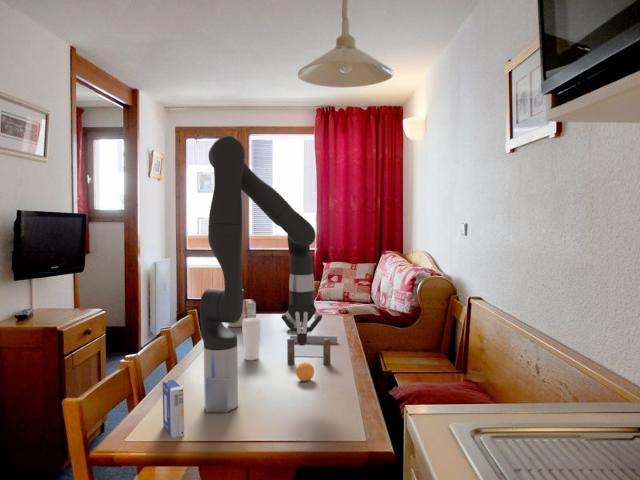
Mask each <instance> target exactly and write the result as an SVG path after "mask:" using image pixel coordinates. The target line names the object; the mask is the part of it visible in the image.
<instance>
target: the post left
mask: <svg viewBox="0 0 640 480" xmlns="http://www.w3.org/2000/svg"><path fill="white" fill-rule="evenodd" d="M286 340H287V343H286V346H287V347H286V348H287V349H286V350H287V356H286V357H287V360H286V361H287V365H295V362H296V361H295V359H296V357H295V347H296V346H295V343H294V339H293V338H290V337H289V338H287V339H286Z"/></svg>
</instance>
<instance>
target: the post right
mask: <svg viewBox="0 0 640 480" xmlns="http://www.w3.org/2000/svg"><path fill="white" fill-rule="evenodd" d="M322 344H323V345H322V346H323V357H322V362H323V364H322V365H324V366H330V365H331V343H330V339H323V343H322Z"/></svg>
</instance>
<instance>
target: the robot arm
mask: <svg viewBox="0 0 640 480" xmlns="http://www.w3.org/2000/svg"><path fill="white" fill-rule="evenodd" d="M245 156H246V152H245V148H244V146H243V144H242V143H241V141H240V140H239V139H238V138H236V137H234V136H231V135H225V136H222V137H220V138H218V139H217V140H216V141H215V142H214V143H212V145H211V147H210V148H209V150H208V161H209V164H210V165H211V167H212V168H213V174H214V175H213V177H214V183H213V184H214V186H213V194H212V197H211V203H210V209H209V215H208V231H207V234H208V236H207V237H208V238H207V241H208V244H209V247H210V248H211V251H212V253H213V255H214V257H215V259H216V260H217V261H218V262H217V263H218V264H219V266H220V268H221V270H222V275H223V282H224V288H217V287H216V288H214V287H213V288H212V287H211V288H207V289H206V290H204V291H203V293H202V295H201V296H200V301H199V318H200V321H199V322H200V335H201V339H202V341H203V378H204V379H203V380H204V381H203V385H204V387H203V388H204V390H203V391H204V392H203V393H204V409H205V412H206V413H217V414H218V413H220V414H222V413H223V414H228V413H229V412H230V411H233V410H234V409H236V408H237V407H238V406H239V385H238V383H239V379H238V378H239V377H238V376H239V375H238V374H239V371H238V369H239V368H238V364H239V363H238V362H239V361H238V360H239V359H238V336H237V334H236V333H235V332H233V331H231V330H230V329H228V328H226V326H225V325H224V323H225V324H226V323H235V322H237V321H238V320H239V319H240V317H241V315H242V311H243V294H244V291H243V277H242V276H243V275H242V241H243V202H242V201H243V200H242V191H243V192H244V194H245V195H246V196H247V197H248V198H249V199H251V201H252V202H253V203H254V204H255V205H256V206H257V207H258V208H259V209H260V210H261V211H262V212H263V213H264V214H265V215H266V216H267V217H268V218H269V219H270V220H271V221H272V222H273V223H274V224H275V225H277V226H278V227H280V228H281V229H282V230H283V231H284V232H285V233H286V234H287V247H288V252H289V260H290V261H289V280H288V282H289V283H288V284H289V285H288V286H289V290H288V291H289V307H288V309H287V311H286V312H285V313H282V314H281V320H282V321H283V322H284V323H285V325H286V324H287V325H286V327H287V326H288V327H289V328H288V329H290V331H291V332H293V333H296V335H297V342H298V343H297V344H299V346H306V344H307V343H306V342H307V335H308V333H309V332H312V331H314V329H315V328H316V326H317V325H318V324H319V323H320V322H321V320H323V319H322V318H323V314H322V313H319V312H318V311H317V308H316V305H315V288H316V287H315V276H314V257H313V256H312V254H311V252H310V249H311V248H310V245H313V243H314V242H315V239H316V230H315V229H314V227H313V226H312V224H311V223H310V222H309V221H308V220H307V219H306V218H304V217H303V216H302V215H301V214H300V213H299V212H298V211H296V210H295V209H294V208H293V207H292V206H291V205H290V203H289V202H288V201H287V200H286V199H285V198H284V197H283V196H282V195H281V194H280V193H279V192H278V191H277V190H275V189H274V188H273V187H272V186H271V185H269V184H268V183H267V182H265V181H264V180H262V179H261V177H258V176H257V175H256V174H255V173H254V172H253V171H252V169H251V168H250V167H249V166H248V165H247V163H246V162H245V158H246V157H245ZM289 314H290V315H291V317H292V318H293V319H294V321H296V326H297V327H295V325H294V324H293V323H292V321H291V320H290V316H289ZM312 318H314V320H313V321H312V323H311V324H310V325H309V324H308V323H309V322H310V321H311V319H312ZM301 322H303V327H301ZM308 325H309V326H308Z"/></svg>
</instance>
